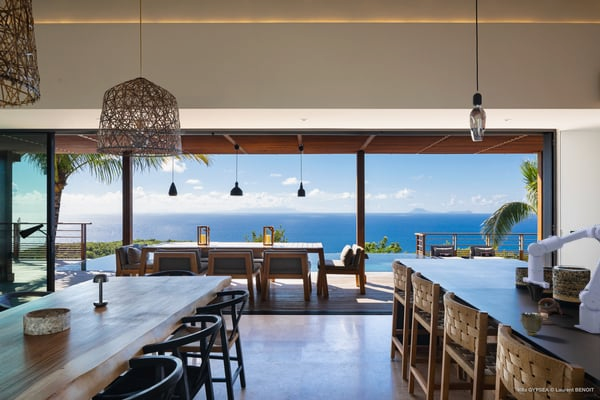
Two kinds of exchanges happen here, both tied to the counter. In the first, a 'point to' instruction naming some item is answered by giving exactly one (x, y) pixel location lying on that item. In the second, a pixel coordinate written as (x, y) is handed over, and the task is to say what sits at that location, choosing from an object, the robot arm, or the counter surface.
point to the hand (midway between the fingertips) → (535, 301)
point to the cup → (532, 323)
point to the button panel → (542, 321)
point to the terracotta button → (544, 315)
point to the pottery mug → (549, 306)
